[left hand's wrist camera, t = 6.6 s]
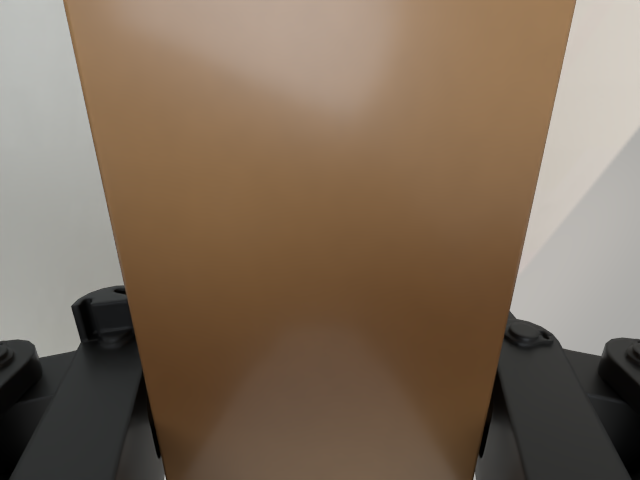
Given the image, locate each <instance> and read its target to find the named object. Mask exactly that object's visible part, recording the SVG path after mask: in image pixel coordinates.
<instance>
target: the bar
mask: <svg viewBox="0 0 640 480" xmlns="http://www.w3.org/2000/svg"><path fill="white" fill-rule="evenodd" d="M63 2H64V7H65V12H66V16H67V21H68V25H69V30H70V35H71V39H72V44H73V49H74V53H75V58H76V63H77V67H78V72H79V77H80V81H81V86H82V91H83V95H84V100H85V104H86V109H87V114H88V118H89V123H90V128H91V132H92V137H93V142H94V146H95V151H96V156H97V160H98V165H99V170H100V174H101V179H102V184H103V188H104V193H105V197H106V202H107V207H108V211H109V216H110V221H111V225H112V230H113V235H114V239H115V244H116V249H117V253H118V258H119V263H120V267H121V272H122V276H123V281H124V286H125V290H126V295H127V300H128V304H129V309H130V314H131V318H132V323H133V328H134V332H135V337H136V342H137V346H138V351H139V356H140V360H141V365H142V369H143V374H144V379H145V383H146V388H147V393H148V397H149V402H150V407H151V411H152V416H153V421H154V425H155V430H156V435H157V439H158V444H159V448H160V453H161V458H162V462H163V467H164V472H165V476H166V480H473V478H474V473H475V468H476V464H477V459H478V455H479V450H480V445H481V441H482V436H483V431H484V427H485V422H486V417H487V413H488V408H489V403H490V399H491V394H492V389H493V385H494V380H495V376H496V371H497V366H498V362H499V357H500V352H501V348H502V343H503V338H504V334H505V329H506V324H507V320H508V315H509V310H510V306H511V301H512V296H513V292H514V287H515V283H516V278H517V273H518V269H519V264H520V259H521V255H522V250H523V245H524V241H525V236H526V231H527V227H528V222H529V218H530V213H531V208H532V204H533V199H534V194H535V190H536V185H537V180H538V176H539V171H540V166H541V162H542V157H543V152H544V148H545V143H546V138H547V134H548V129H549V125H550V120H551V115H552V111H553V106H554V101H555V97H556V92H557V87H558V83H559V78H560V73H561V69H562V64H563V59H564V55H565V50H566V46H567V41H568V36H569V32H570V27H571V22H572V18H573V13H574V8H575V4H576V0H63Z"/></svg>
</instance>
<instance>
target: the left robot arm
mask: <svg viewBox="0 0 640 480" xmlns="http://www.w3.org/2000/svg"><path fill="white" fill-rule="evenodd" d="M71 307H72V311H73V315H74V318H75V322H76V325H77V329H78V332H79V336H80V340H81V343H80V345H79V347H78V349H77V350H76V351H72V352H68V353H62V354H57V355H52V356H47V357H42V358H39V357H38V354H37V351H36V348H35V345H33V344H32V343H31V342H29V341H25V340H9V341H0V480H164V476H165V472H164V467H163V462H162V458H161V453H160V448H159V444H158V439H157V435H156V430H155V425H154V421H153V416H152V411H151V407H150V402H149V397H148V393H147V388H146V383H145V379H144V374H143V369H142V365H141V360H140V356H139V351H138V346H137V342H136V337H135V332H134V328H133V323H132V318H131V314H130V309H129V304H128V300H127V295H126V290H125V286H113V287H108V288H103V289H100V290H97V291H94V292H91V293H89V294H87V295H85V296H83V297H81V298H80V299H78V300H77V301H76V302H75V303H74V304H73V305H72V306H71ZM475 475H476V480H640V339H630V338H616V339H611V340H610V341H608V342H607V343H606V344H605V347H604V350H603V353H602V356H597V355H592V354H587V353H581V352H576V351H571V350H567V349H563V348H562V346H561V345H560V343H559V341H558V340H557V339H556V338H555V336H554V335H553V334H552V333H550V332H549V331H547V330H546V329H544V328H543V327H541V326H538V325H536V324H533V323H531V322H528V321H523V320H519V319H516V318H515V317H514V316H513V314H512V313H511V312H510V311H509V315H508V320H507V324H506V329H505V334H504V338H503V343H502V348H501V352H500V357H499V362H498V366H497V371H496V376H495V380H494V385H493V389H492V394H491V399H490V403H489V408H488V413H487V417H486V422H485V427H484V431H483V436H482V441H481V445H480V450H479V455H478V459H477V464H476V468H475Z"/></svg>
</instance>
